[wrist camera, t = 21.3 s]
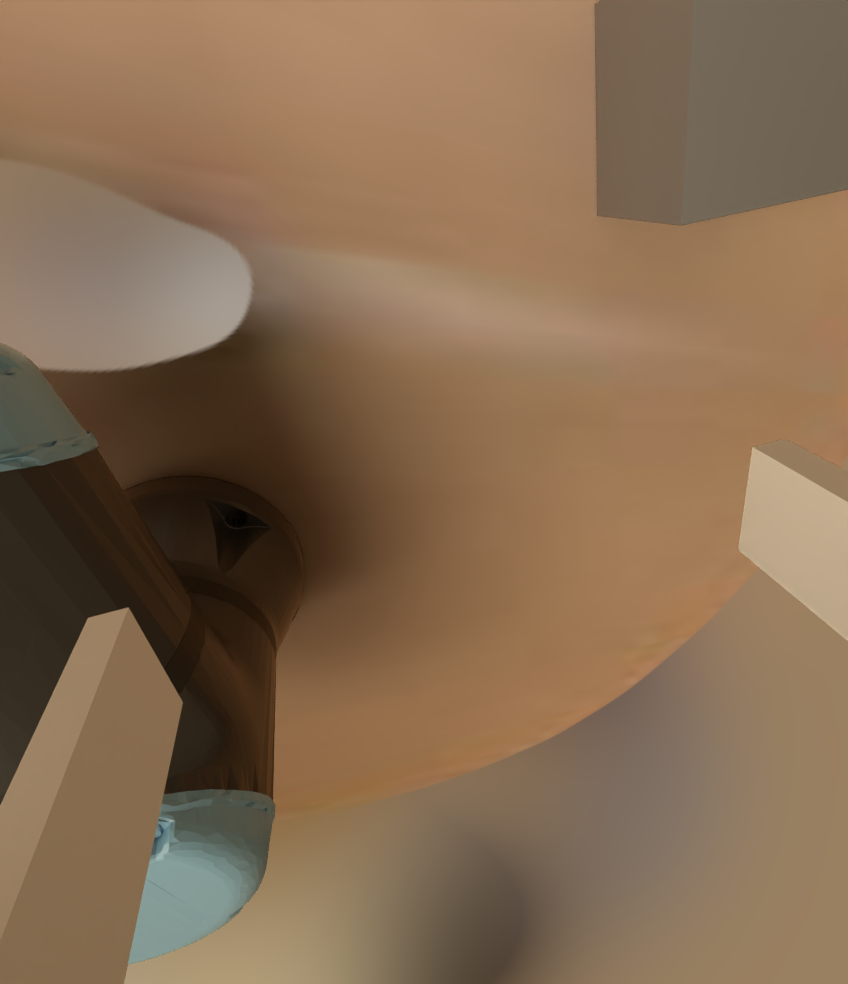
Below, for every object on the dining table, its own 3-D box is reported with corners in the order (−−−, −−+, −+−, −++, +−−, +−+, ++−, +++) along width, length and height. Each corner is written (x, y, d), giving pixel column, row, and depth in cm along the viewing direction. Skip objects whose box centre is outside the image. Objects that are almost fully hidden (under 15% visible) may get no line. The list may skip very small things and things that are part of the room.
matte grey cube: (748, 183, 36) (870, 184, 28) (597, 215, 35) (681, 225, 28) (771, -28, 31) (927, -95, 23) (594, 4, 30) (696, -56, 22)
